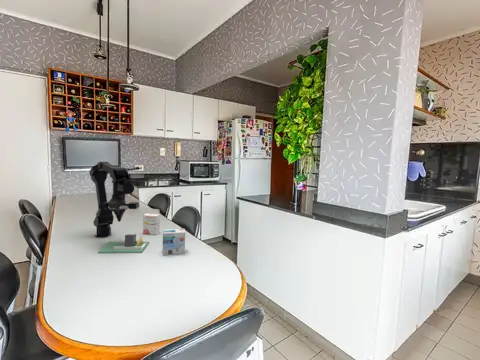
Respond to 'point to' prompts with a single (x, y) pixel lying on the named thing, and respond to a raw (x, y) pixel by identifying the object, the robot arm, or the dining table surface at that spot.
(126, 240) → the block
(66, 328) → the dining table surface
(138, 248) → the board
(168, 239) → the light bulb box
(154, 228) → the ink cartridge box
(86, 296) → the dining table surface
